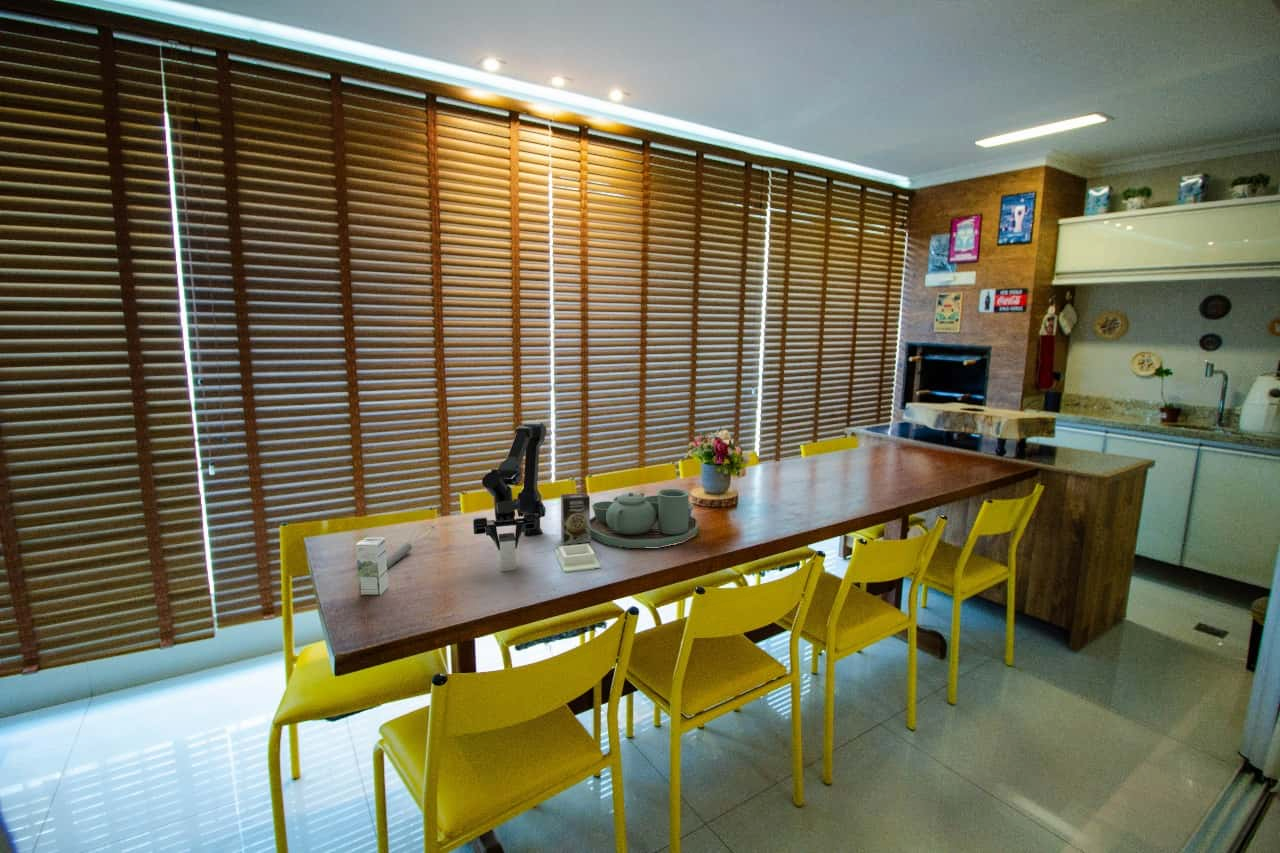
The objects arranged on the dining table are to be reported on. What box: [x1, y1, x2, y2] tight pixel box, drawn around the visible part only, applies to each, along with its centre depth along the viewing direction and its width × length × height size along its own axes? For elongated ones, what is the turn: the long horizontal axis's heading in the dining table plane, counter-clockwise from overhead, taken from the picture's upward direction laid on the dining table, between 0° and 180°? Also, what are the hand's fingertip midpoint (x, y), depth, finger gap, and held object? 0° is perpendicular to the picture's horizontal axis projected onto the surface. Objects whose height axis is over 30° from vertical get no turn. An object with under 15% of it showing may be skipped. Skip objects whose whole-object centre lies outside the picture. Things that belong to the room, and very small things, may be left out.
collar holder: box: [554, 543, 602, 574], centre depth 176 cm, size 18×11×3 cm, turn 17°
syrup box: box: [355, 537, 389, 596], centre depth 153 cm, size 6×6×14 cm
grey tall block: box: [498, 532, 517, 572], centre depth 170 cm, size 4×4×10 cm
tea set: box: [590, 488, 698, 549], centre depth 204 cm, size 40×40×16 cm
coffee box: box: [560, 492, 591, 546], centre depth 192 cm, size 9×6×16 cm
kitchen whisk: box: [386, 521, 438, 570], centre depth 183 cm, size 6×34×6 cm, turn 173°
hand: (507, 549), depth 167 cm, fingers closed on grey tall block, 4 cm apart
